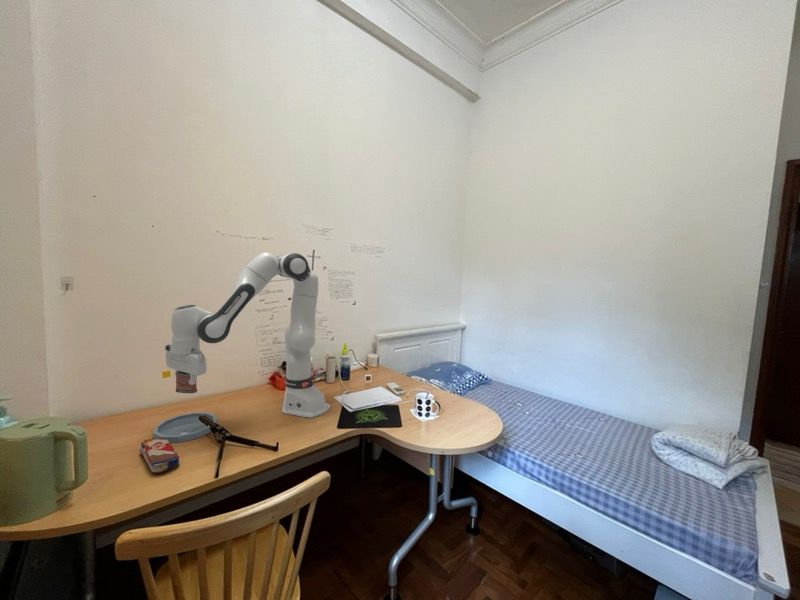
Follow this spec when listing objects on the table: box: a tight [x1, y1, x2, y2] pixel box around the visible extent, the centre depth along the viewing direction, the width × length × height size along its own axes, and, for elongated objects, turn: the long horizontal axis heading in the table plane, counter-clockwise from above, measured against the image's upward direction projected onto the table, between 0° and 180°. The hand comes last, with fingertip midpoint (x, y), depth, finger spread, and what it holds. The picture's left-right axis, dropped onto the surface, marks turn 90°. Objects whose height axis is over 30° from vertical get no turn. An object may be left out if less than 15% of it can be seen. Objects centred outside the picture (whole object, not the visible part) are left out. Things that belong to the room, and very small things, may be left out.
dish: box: [152, 411, 218, 444], centre depth 120 cm, size 20×20×2 cm
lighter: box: [174, 371, 198, 394], centre depth 118 cm, size 8×3×10 cm, turn 85°
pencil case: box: [139, 438, 181, 474], centre depth 100 cm, size 11×20×5 cm, turn 35°
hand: (186, 382), depth 119 cm, fingers closed on lighter, 6 cm apart
